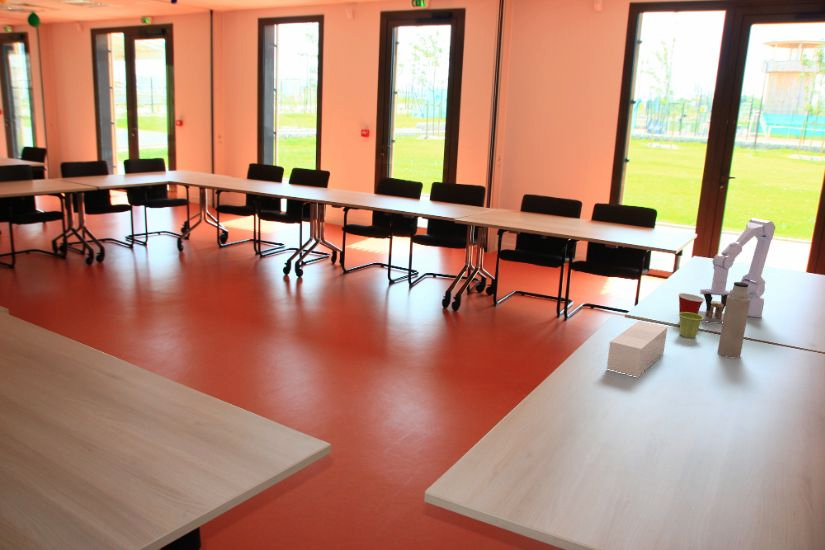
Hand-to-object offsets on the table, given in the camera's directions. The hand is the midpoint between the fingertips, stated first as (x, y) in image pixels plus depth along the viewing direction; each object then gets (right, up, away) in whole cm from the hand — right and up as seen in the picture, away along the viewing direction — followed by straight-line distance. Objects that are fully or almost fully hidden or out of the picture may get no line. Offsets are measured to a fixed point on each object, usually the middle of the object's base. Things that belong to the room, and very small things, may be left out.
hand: (714, 310), depth 309 cm
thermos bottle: (-15, -14, -46) cm, 50 cm away
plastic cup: (-15, -5, -8) cm, 18 cm away
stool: (0, -3, +1) cm, 3 cm away
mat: (0, -3, +1) cm, 3 cm away
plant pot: (-23, -9, -26) cm, 36 cm away
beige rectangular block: (-54, -16, -59) cm, 82 cm away
